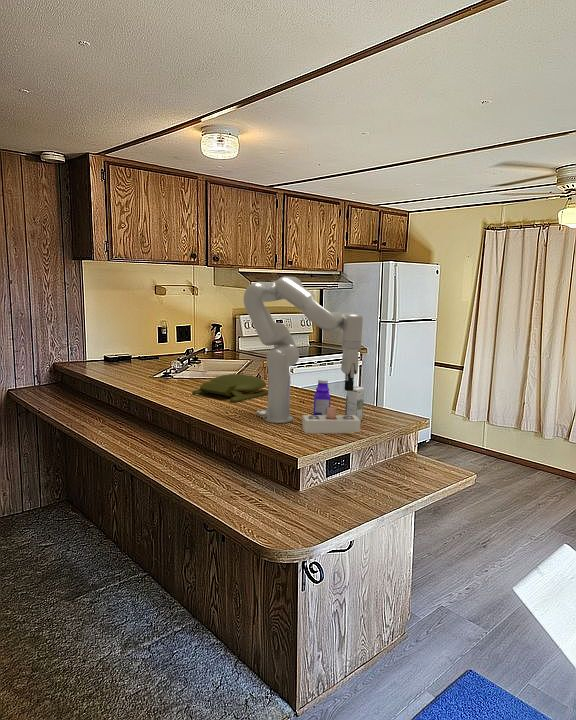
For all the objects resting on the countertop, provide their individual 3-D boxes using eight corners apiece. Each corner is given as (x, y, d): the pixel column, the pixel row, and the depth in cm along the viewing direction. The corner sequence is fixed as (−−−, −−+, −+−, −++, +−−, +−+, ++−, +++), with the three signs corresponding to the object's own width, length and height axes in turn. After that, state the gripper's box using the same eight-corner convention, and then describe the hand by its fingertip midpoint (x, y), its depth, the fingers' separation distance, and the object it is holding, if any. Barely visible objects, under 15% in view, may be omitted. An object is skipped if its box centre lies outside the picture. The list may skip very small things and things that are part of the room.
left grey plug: (309, 430, 214) (310, 417, 213) (308, 428, 217) (308, 415, 216) (318, 430, 214) (319, 417, 213) (317, 428, 217) (317, 415, 217)
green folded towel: (235, 404, 259) (235, 384, 258) (189, 395, 277) (189, 376, 275) (277, 393, 288) (278, 375, 286) (233, 385, 305) (234, 368, 304)
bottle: (328, 417, 237) (330, 378, 234) (330, 420, 231) (331, 381, 229) (312, 417, 237) (313, 378, 234) (313, 420, 231) (314, 380, 228)
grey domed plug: (344, 430, 215) (344, 417, 214) (342, 428, 218) (343, 415, 218) (353, 430, 215) (353, 417, 214) (351, 428, 219) (351, 415, 218)
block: (305, 433, 211) (305, 420, 210) (302, 427, 220) (302, 415, 219) (359, 433, 213) (360, 420, 212) (355, 427, 222) (355, 415, 221)
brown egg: (327, 422, 214) (327, 409, 213) (325, 420, 217) (326, 407, 216) (336, 422, 214) (336, 409, 213) (334, 420, 218) (335, 407, 217)
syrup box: (351, 417, 237) (353, 385, 235) (363, 420, 234) (364, 387, 231) (344, 420, 233) (345, 387, 231) (356, 422, 229) (357, 389, 227)
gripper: (338, 342, 219) (336, 386, 222) (345, 347, 204) (343, 394, 207) (356, 343, 220) (353, 386, 222) (365, 347, 205) (362, 394, 208)
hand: (348, 390), depth 215 cm, fingers closed
